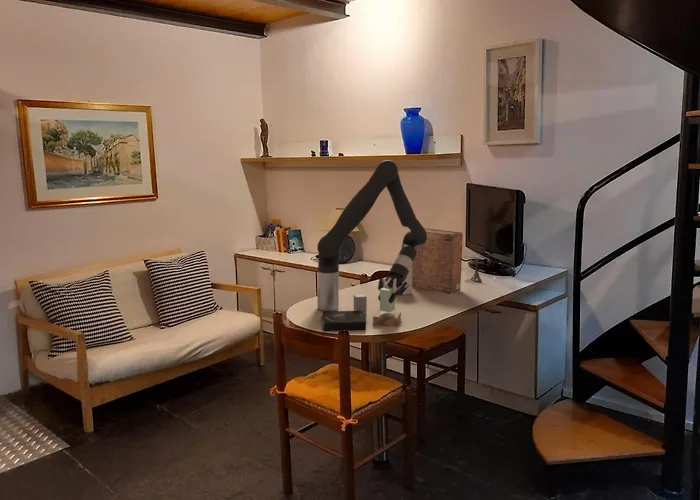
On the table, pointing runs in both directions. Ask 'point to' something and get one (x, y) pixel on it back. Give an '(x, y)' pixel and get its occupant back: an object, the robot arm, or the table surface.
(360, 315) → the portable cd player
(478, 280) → the eiffel tower figurine
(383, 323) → the walnut plinth
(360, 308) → the grey pillar
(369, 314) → the table surface
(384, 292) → the sage pillar
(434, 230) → the book
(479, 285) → the table surface
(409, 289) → the skincare box
